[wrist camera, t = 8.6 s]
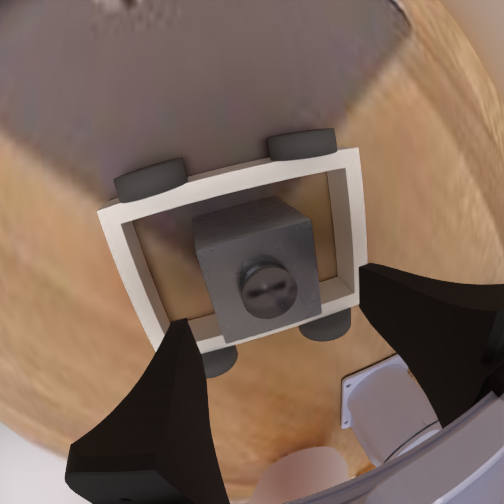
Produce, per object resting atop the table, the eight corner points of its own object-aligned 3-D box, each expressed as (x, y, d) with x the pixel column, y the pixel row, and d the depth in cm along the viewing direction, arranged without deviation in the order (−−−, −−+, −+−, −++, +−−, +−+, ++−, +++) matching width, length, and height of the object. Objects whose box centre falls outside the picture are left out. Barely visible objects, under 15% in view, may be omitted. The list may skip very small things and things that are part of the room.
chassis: (350, 297, 21) (375, 323, 18) (168, 351, 20) (168, 387, 17) (334, 126, 17) (366, 126, 13) (102, 181, 15) (82, 192, 12)
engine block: (288, 269, 19) (328, 322, 14) (214, 290, 19) (228, 354, 13) (274, 195, 17) (318, 225, 12) (192, 217, 17) (196, 258, 11)
